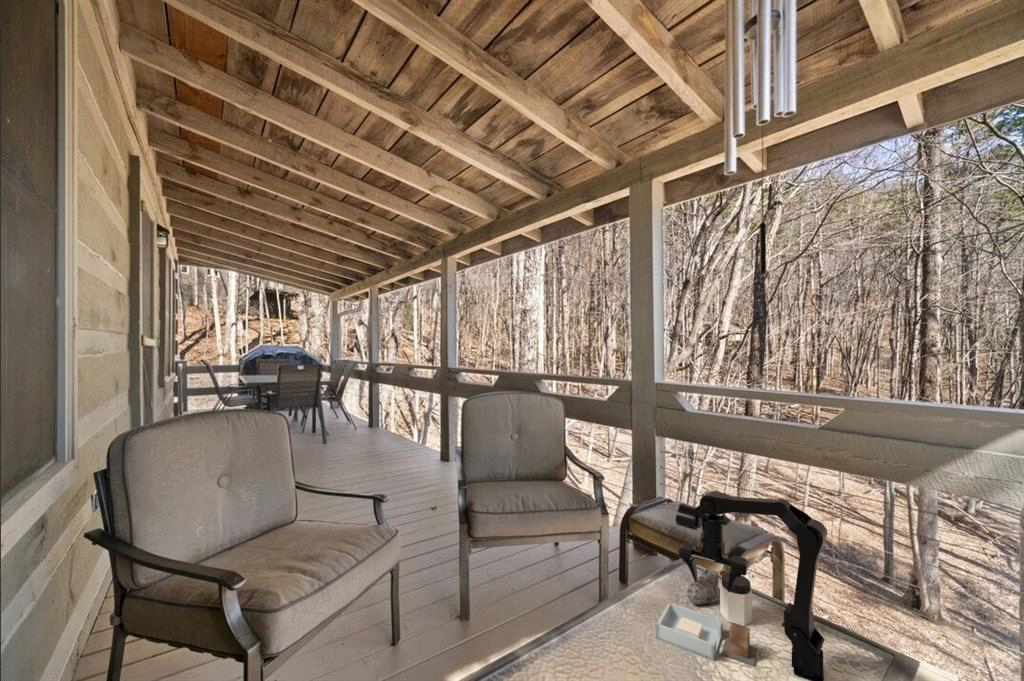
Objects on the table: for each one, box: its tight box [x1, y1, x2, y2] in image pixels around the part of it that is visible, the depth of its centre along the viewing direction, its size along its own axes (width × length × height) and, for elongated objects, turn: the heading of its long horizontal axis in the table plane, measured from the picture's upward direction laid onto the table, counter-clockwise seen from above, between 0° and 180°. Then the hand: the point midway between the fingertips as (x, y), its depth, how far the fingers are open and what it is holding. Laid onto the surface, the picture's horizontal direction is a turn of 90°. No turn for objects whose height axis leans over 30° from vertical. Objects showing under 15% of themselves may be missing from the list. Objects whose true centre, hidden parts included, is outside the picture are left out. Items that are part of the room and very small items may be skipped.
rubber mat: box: [720, 636, 758, 668], centre depth 120 cm, size 8×8×1 cm
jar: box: [719, 572, 753, 627], centre depth 136 cm, size 9×8×12 cm
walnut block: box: [728, 622, 751, 659], centre depth 120 cm, size 4×4×6 cm
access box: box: [655, 602, 723, 661], centre depth 127 cm, size 16×14×4 cm
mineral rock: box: [686, 568, 720, 605], centre depth 146 cm, size 13×11×10 cm
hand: (712, 586), depth 130 cm, fingers open, 9 cm apart
